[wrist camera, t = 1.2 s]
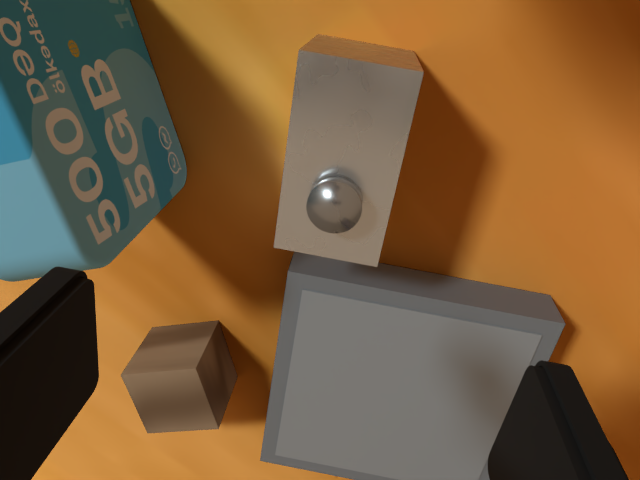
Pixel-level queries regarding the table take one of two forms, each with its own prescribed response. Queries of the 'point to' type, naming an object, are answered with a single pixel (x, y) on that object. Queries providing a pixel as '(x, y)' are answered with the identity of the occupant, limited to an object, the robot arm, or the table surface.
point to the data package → (78, 136)
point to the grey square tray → (398, 369)
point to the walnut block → (181, 377)
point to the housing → (345, 147)
